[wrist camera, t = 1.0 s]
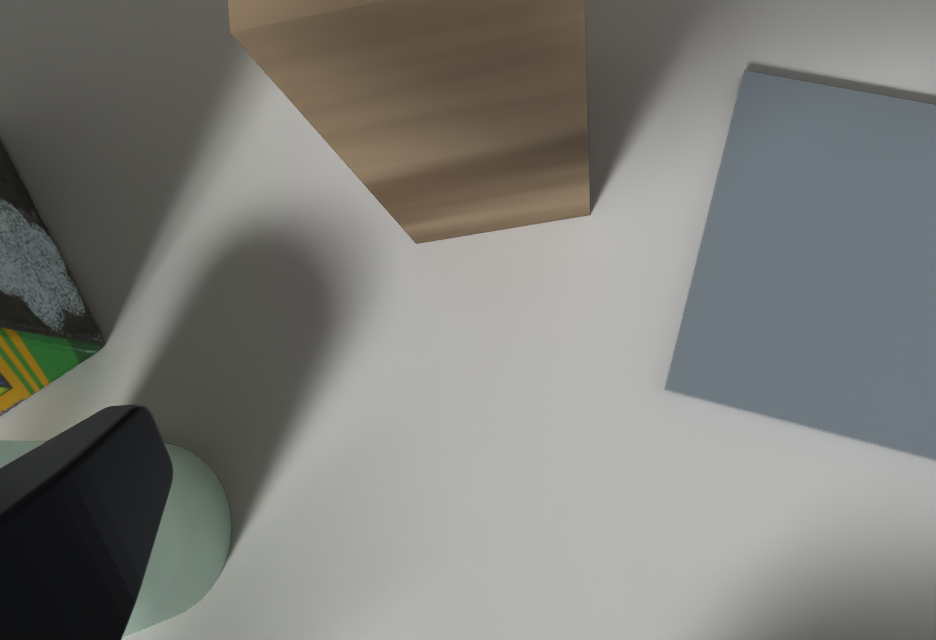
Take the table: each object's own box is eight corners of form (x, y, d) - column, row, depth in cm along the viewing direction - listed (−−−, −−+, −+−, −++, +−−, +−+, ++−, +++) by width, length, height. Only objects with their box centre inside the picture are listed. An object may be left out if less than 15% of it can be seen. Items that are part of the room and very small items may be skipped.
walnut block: (590, 214, 22) (583, -42, 11) (416, 243, 23) (230, 32, 11) (564, 50, 23) (531, -353, 12) (397, 83, 24) (206, -268, 12)
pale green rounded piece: (172, 657, 22) (-15, 750, 15) (38, 561, 23) (-193, 609, 16) (263, 498, 23) (118, 520, 16) (127, 411, 24) (-64, 396, 17)
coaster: (1032, 485, 20) (1041, 486, 19) (664, 390, 21) (665, 389, 21) (1098, 141, 21) (1108, 136, 20) (742, 76, 22) (744, 70, 22)
